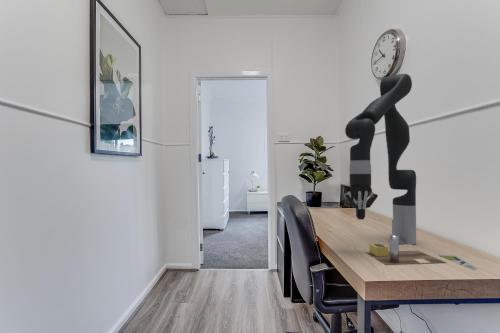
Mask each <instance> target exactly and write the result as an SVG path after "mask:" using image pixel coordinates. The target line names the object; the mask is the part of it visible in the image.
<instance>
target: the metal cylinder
mask: <svg viewBox="0 0 500 333" xmlns="http://www.w3.org/2000/svg"><path fill="white" fill-rule="evenodd" d="M399 251H400V244H399V236H398V235H393V234H392V233H391V234H389V252H390V262H393V263H399Z"/></svg>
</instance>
